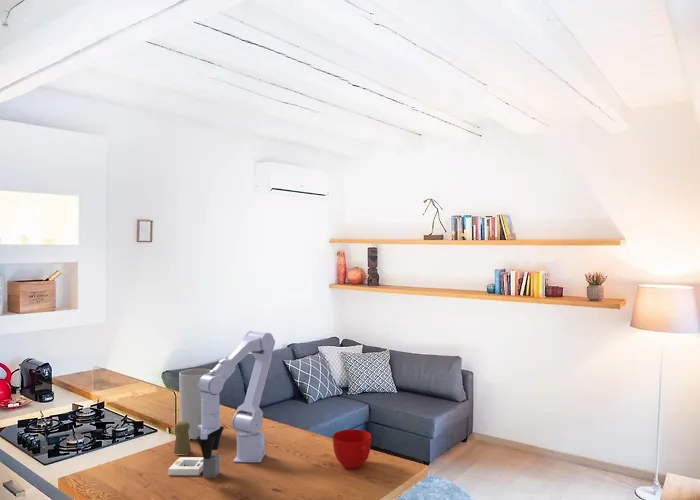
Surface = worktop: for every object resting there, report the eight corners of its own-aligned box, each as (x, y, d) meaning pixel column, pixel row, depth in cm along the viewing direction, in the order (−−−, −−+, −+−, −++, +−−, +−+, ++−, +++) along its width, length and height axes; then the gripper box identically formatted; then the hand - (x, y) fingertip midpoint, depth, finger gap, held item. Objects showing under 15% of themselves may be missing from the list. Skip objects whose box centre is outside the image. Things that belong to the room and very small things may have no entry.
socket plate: (208, 463, 185) (208, 456, 185) (198, 475, 175) (198, 468, 175) (179, 462, 185) (179, 456, 185) (168, 475, 175) (168, 468, 175)
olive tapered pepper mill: (186, 456, 191) (185, 425, 191) (170, 455, 192) (170, 424, 192) (194, 450, 197) (193, 420, 197) (179, 448, 198) (178, 419, 198)
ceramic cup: (349, 480, 169) (348, 449, 169) (326, 462, 184) (326, 433, 184) (384, 472, 175) (384, 441, 175) (359, 455, 190) (359, 426, 190)
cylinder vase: (219, 433, 215) (218, 370, 215) (195, 443, 204) (194, 377, 204) (197, 428, 221) (197, 367, 221) (173, 437, 211) (172, 373, 211)
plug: (219, 472, 177) (218, 451, 177) (215, 477, 173) (215, 456, 173) (207, 472, 177) (206, 451, 177) (203, 477, 173) (203, 456, 173)
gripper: (205, 405, 182) (205, 445, 182) (190, 419, 168) (191, 462, 168) (226, 405, 182) (226, 446, 182) (212, 419, 167) (213, 462, 167)
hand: (210, 454), depth 175 cm, fingers open, 7 cm apart
